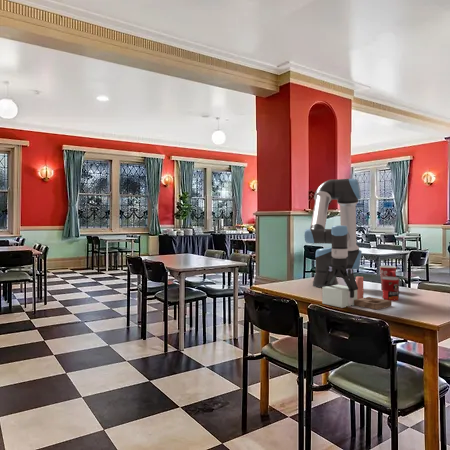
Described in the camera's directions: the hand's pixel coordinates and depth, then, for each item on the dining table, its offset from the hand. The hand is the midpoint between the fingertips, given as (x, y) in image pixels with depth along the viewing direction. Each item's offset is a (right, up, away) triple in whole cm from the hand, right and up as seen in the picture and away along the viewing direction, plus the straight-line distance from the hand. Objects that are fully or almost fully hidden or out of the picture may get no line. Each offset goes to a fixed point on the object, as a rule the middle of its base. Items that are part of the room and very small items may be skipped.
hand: (339, 302), depth 192 cm
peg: (+12, -1, +6) cm, 13 cm away
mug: (+37, 0, +32) cm, 49 cm away
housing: (0, -1, 0) cm, 1 cm away
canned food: (+29, -1, +10) cm, 30 cm away
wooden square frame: (+14, -1, -4) cm, 15 cm away
